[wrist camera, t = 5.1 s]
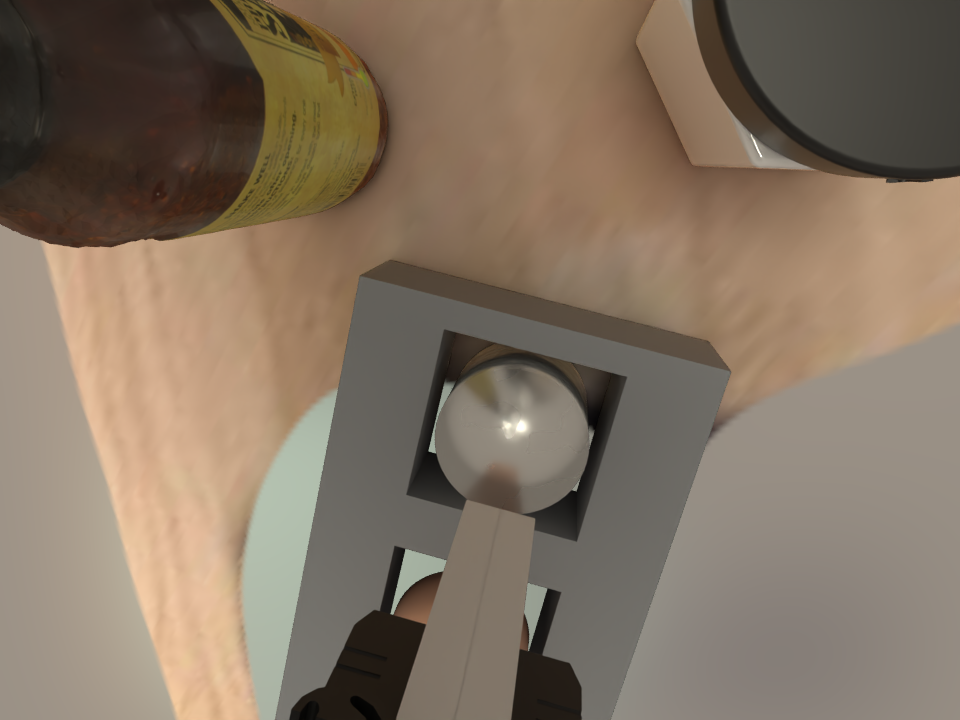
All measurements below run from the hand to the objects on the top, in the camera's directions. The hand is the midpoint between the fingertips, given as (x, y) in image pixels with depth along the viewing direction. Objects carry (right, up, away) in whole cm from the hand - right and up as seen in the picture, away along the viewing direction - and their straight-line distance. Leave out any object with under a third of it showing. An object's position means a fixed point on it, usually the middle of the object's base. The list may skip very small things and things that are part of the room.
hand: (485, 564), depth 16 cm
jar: (+9, +15, +8) cm, 19 cm away
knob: (+1, +3, +12) cm, 12 cm away
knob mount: (0, -5, +15) cm, 15 cm away
